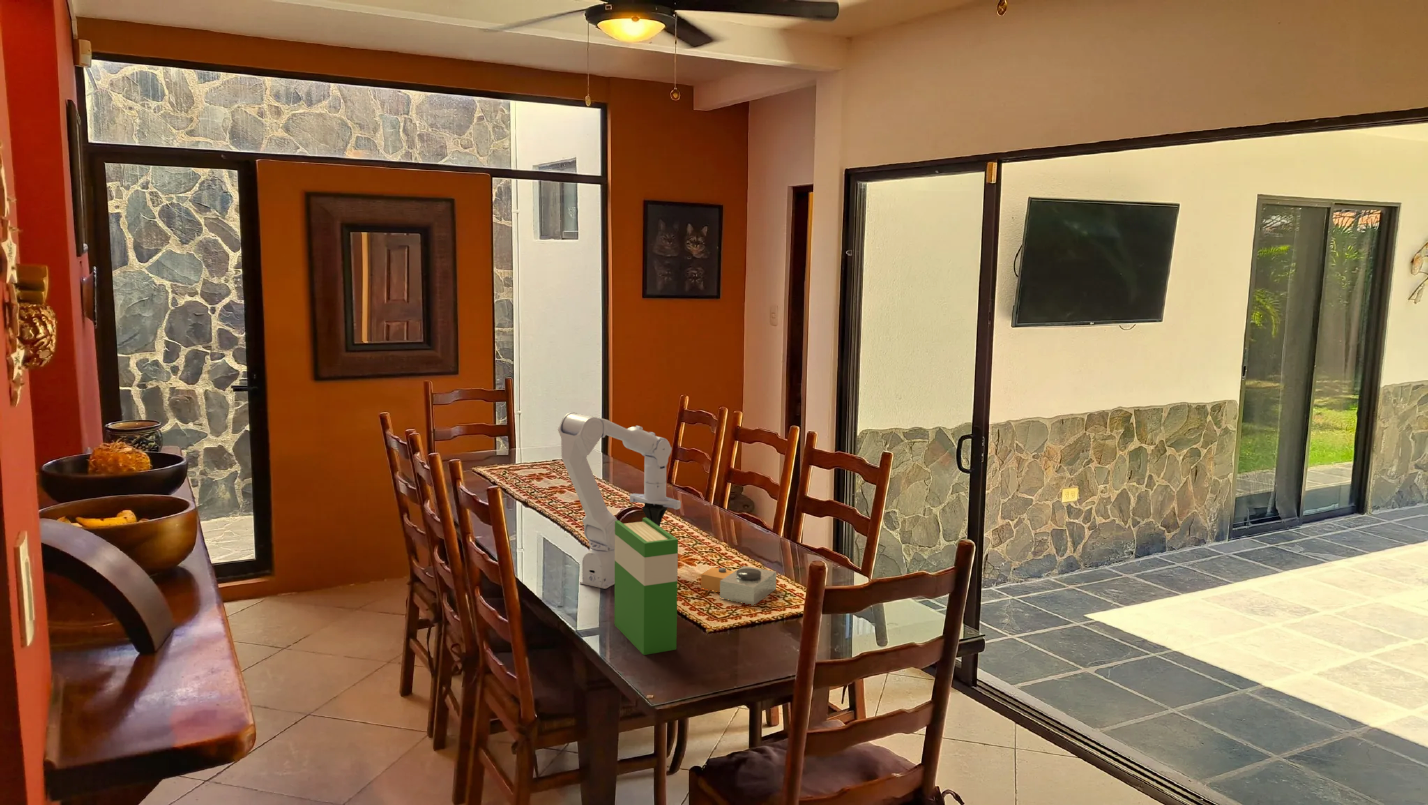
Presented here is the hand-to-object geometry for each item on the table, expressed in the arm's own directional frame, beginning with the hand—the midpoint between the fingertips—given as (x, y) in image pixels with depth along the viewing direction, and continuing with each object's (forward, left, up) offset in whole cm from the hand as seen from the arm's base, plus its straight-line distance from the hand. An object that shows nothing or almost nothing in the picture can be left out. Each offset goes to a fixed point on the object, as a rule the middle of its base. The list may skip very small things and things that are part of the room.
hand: (654, 531), depth 254 cm
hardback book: (-41, -22, -10) cm, 48 cm away
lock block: (-6, -22, -10) cm, 25 cm away
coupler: (-6, -27, -9) cm, 30 cm away
